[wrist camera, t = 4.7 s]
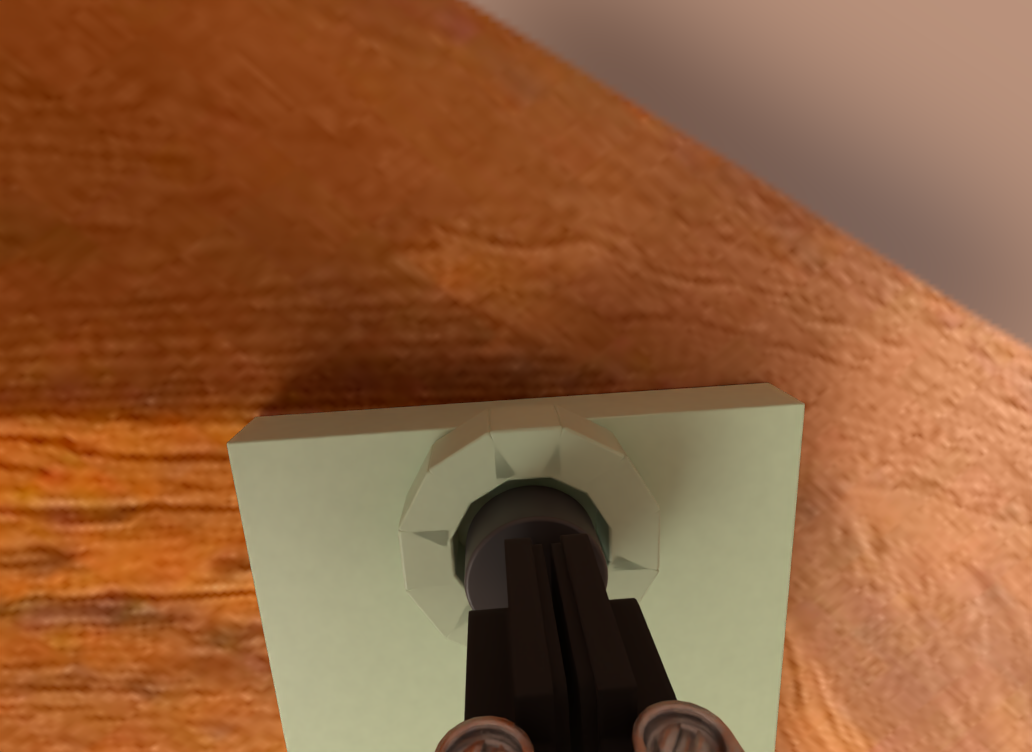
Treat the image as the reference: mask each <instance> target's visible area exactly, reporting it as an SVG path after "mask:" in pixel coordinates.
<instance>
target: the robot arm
mask: <svg viewBox="0 0 1032 752" xmlns="http://www.w3.org/2000/svg"><path fill="white" fill-rule="evenodd" d="M504 546H505V561H506V577H507V593H508V608H496V609H483V610H471V611H469V613H468V634H467V659H466V685H465V711H464V721H463V722H461V723H459V724H458V725H456V726H455V727H453V728H452V729H450V730H449V731H448V732H447V733H446V734H445V736H444V737H443V738H442V739H441V740H440V741H439V743H438V745H437V748H436V750H435V752H745V751H744V750H743V748H742V747H741V745H740V744H739V742H738V741H737V739H736V738H735V736H734V735H733V733H732V732H731V730H730V729H729V728H728V727H727V726H726V724H725V723H724V722H723V721H722V720H721V719H720V718H719V717H718V716H716V715H715V714H713V713H712V712H711V711H709V710H708V709H706V708H704V707H701V706H699V705H696V704H694V703H691V702H685V701H679V700H677V698H676V695H675V693H674V690H673V688H672V685H671V683H670V680H669V678H668V675H667V673H666V670H665V668H664V665H663V663H662V660H661V658H660V655H659V653H658V650H657V648H656V645H655V643H654V640H653V638H652V635H651V633H650V630H649V628H648V625H647V623H646V620H645V618H644V615H643V613H642V610H641V608H640V605H639V603H638V601H637V600H636V599H635V598H625V599H612V600H609V598H608V595H607V592H606V589H605V586H604V583H603V579H602V576H601V573H600V570H599V567H598V564H597V561H596V558H595V555H594V552H593V549H592V546H591V543H590V540H589V537H588V534H587V533H584V534H570V535H560V543H550V562H551V587H552V597H551V592H550V586H549V581H548V575H547V569H546V564H545V558H544V552H543V547H542V544H535V545H532V542H531V537H530V538H516V539H504Z"/></svg>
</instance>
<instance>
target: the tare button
mask: <svg viewBox="0 0 1032 752" xmlns="http://www.w3.org/2000/svg"><path fill="white" fill-rule="evenodd" d="M584 533H587V534H588V537H589V540H590V543H591V546H592V549H593V552H594V555H595V558H596V561H597V564H598V567H599V570H600V573H601V576H602V579H603V583H604V586H605V589H606V588H607V584H608V566H607V562H606V558H605V556H604V553H603V550H602V547H601V545H600V542H599V539H598V536H597V534H596V531H595V528H594V525H593V523H592V520H591V518H590V516H589V515H588V513H587V511H586V510H585V509H584V507H583V506H582V505H581V504H580V503H579V502H578V501H577V500H576V499H574V498H573V497H571V496H570V495H568V494H566V493H564V492H563V491H560V490H557V489H555V488H551V487H547V486H540V485H526V486H519V487H515V488H511V489H509V490H506V491H503V492H502V493H500V494H498V495H496V496H495V497H493V498H492V499H490V500H489V501H488V502H487V503H486V504H484V505H483V506H482V507H481V509H480V510H479V511H478V512H477V513H476V515H475V517H474V518H473V520H472V522H471V524H470V526H469V529H468V533H467V537H466V550H465V573H464V587H465V593H466V597H467V600H468V603H469V605H470V607H471V609H472V610H483V609H496V608H508V593H507V577H506V561H505V546H504V539H516V538H530V537H531V542H532V545H535V544H542V547H543V552H544V558H545V564H546V569H547V575H548V581H549V586H550V592H551V597H552V587H551V562H550V543H560V535H570V534H584Z"/></svg>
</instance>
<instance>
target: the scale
mask: <svg viewBox="0 0 1032 752" xmlns="http://www.w3.org/2000/svg"><path fill="white" fill-rule="evenodd" d="M804 410H805V404H804V403H803V402H801V401H799V400H798V399H796V398H794V397H792V396H791V395H789V394H787V393H786V392H784V391H782V390H780V389H779V388H777V387H775V386H774V385H772V384H770V383H757V384H741V385H726V386H711V387H696V388H681V389H666V390H651V391H636V392H621V393H606V394H591V395H576V396H561V397H546V398H531V399H516V400H501V401H485V402H470V403H455V404H440V405H425V406H410V407H395V408H380V409H365V410H350V411H335V412H320V413H305V414H290V415H275V416H260V417H255V418H254V419H253V420H252V421H251V422H250V423H248V424H247V425H246V426H245V427H244V428H243V429H242V430H241V431H240V432H238V433H237V434H236V435H235V436H234V437H233V438H232V439H231V440H230V441H228V442H227V449H228V454H229V459H230V464H231V469H232V474H233V479H234V484H235V489H236V494H237V499H238V504H239V509H240V514H241V520H242V525H243V530H244V535H245V540H246V545H247V550H248V555H249V560H250V565H251V570H252V575H253V580H254V585H255V590H256V596H257V601H258V606H259V611H260V616H261V621H262V626H263V631H264V636H265V641H266V646H267V651H268V656H269V661H270V666H271V672H272V677H273V682H274V687H275V692H276V697H277V702H278V707H279V712H280V717H281V722H282V727H283V732H284V737H285V742H286V748H287V752H435V750H436V748H437V745H438V743H439V741H440V740H441V739H442V738H443V737H444V736H445V734H446V733H447V732H448V731H449V730H450V729H452V728H453V727H455V726H456V725H458V724H459V723H461V722H463V721H464V711H465V685H466V659H467V634H468V613H469V611H471V610H472V609H471V607H470V605H469V603H468V600H467V597H466V593H465V587H464V573H465V550H466V537H467V533H468V529H469V526H470V524H471V522H472V520H473V518H474V517H475V515H476V513H477V512H478V511H479V510H480V509H481V507H482V506H483V505H484V504H486V503H487V502H488V501H489V500H490V499H492V498H493V497H495V496H496V495H498V494H500V493H502V492H503V491H506V490H509V489H511V488H515V487H519V486H526V485H540V486H547V487H551V488H555V489H557V490H560V491H563V492H564V493H566V494H568V495H570V496H571V497H573V498H574V499H576V500H577V501H578V502H579V503H580V504H581V505H582V506H583V507H584V509H585V510H586V511H587V513H588V515H589V516H590V518H591V520H592V523H593V525H594V528H595V531H596V534H597V536H598V539H599V542H600V545H601V547H602V550H603V553H604V556H605V558H606V562H607V566H608V584H607V588H606V592H607V595H608V598H609V600H612V599H625V598H635V599H636V600H637V601H638V603H639V605H640V608H641V610H642V613H643V615H644V618H645V620H646V623H647V625H648V628H649V630H650V633H651V635H652V638H653V640H654V643H655V645H656V648H657V650H658V653H659V655H660V658H661V660H662V663H663V665H664V668H665V670H666V673H667V675H668V678H669V680H670V683H671V685H672V688H673V690H674V693H675V695H676V698H677V700H679V701H685V702H691V703H694V704H696V705H699V706H701V707H704V708H706V709H708V710H709V711H711V712H712V713H713V714H715V715H716V716H718V717H719V718H720V719H721V720H722V721H723V722H724V723H725V724H726V726H727V727H728V728H729V729H730V730H731V732H732V733H733V735H734V736H735V738H736V739H737V741H738V742H739V744H740V745H741V747H742V748H743V750H744V751H745V752H775V743H776V731H777V720H778V708H779V697H780V685H781V674H782V662H783V651H784V639H785V628H786V616H787V605H788V593H789V582H790V570H791V559H792V547H793V536H794V524H795V513H796V501H797V490H798V478H799V467H800V455H801V444H802V432H803V421H804Z"/></svg>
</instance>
